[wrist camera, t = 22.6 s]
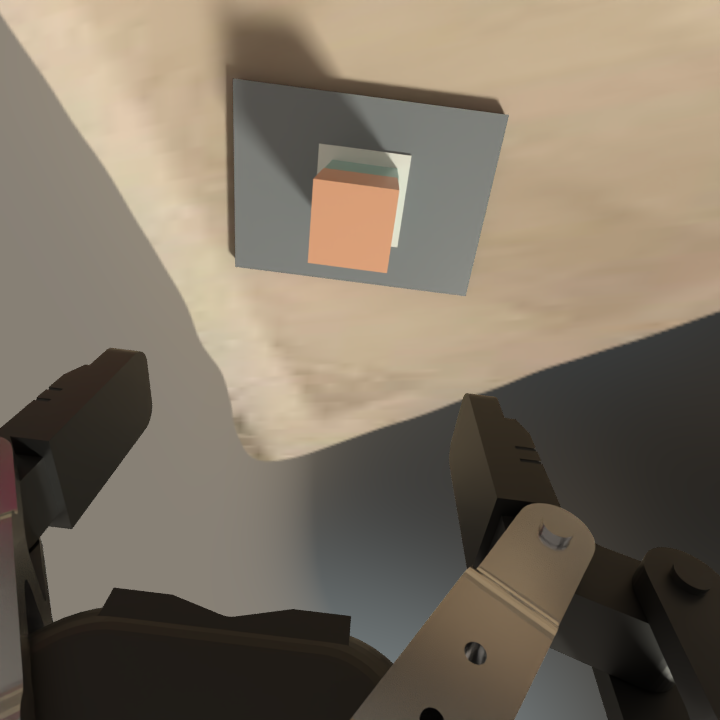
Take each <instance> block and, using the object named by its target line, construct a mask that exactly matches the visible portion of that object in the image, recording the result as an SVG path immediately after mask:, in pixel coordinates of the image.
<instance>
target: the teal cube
mask: <svg viewBox="0 0 720 720" xmlns="http://www.w3.org/2000/svg"><path fill="white" fill-rule="evenodd" d="M325 168H328V169H336V170H343V171H351V172H358V173H366V174H373V175H381V176H388V177H396V178H398V180H399V176H398V169H397V168H390V167H383V166H375V165H368V164H360V163H353V162H346V161H338V160H332V161H331V162H330V163H329V164H328V165H327V166H326V167H325Z"/></svg>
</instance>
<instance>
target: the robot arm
mask: <svg viewBox="0 0 720 720" xmlns="http://www.w3.org/2000/svg"><path fill="white" fill-rule="evenodd" d="M151 413H152V398H151V390H150V382H149V373H148V365H147V359H146V356H145V354H144V353H143V352H140V351H132V350H124V349H116V348H109V349H107V350H106V351H105V352H104V353H103V354H102V355H100V356H99V357H98V358H97V359H96V360H95V361H94V362H93V363H92V364H90V365H83V366H81V367H79V368H77V369H75V370H72V371H70V372H68V373H66V374H64V375H63V376H61V377H60V378H59V379H58V380H57V381H56V382H54V383H53V384H52V385H51V386H50V387H49V390H45V391H44V392H43V393H41V394H40V395H39V396H38V397H37V399H36V400H33V401H32V402H31V403H29V404H28V405H27V406H26V407H25V408H24V409H22V410H21V411H20V412H19V413H18V414H17V415H15V416H14V417H13V418H12V419H11V420H9V421H8V422H7V423H6V424H5V425H3V426H2V427H1V428H0V720H514V719H515V717H516V715H517V713H518V711H519V709H520V707H521V705H522V703H523V700H524V699H525V697H526V694H527V692H528V690H529V688H530V686H531V684H532V682H533V680H534V678H535V676H536V674H537V672H538V670H539V668H540V665H541V664H542V662H543V659H544V657H545V655H546V653H547V651H548V649H549V648H552V649H554V650H556V651H558V652H561V653H563V654H565V655H567V656H570V657H572V658H574V659H576V660H579V661H581V662H583V663H585V664H588V665H590V666H592V669H593V672H594V675H595V679H596V682H597V685H598V688H599V692H600V695H601V698H602V702H603V705H604V708H605V711H606V714H607V718H608V720H720V576H719V575H718V574H717V573H716V572H715V571H714V570H713V569H711V568H710V567H709V566H707V565H706V564H705V563H703V562H702V561H700V560H699V559H697V558H695V557H693V556H692V555H689V554H687V553H685V552H683V551H679V550H677V549H672V548H666V547H657V548H653V549H651V550H649V551H648V552H647V554H646V555H645V556H644V558H643V560H642V561H638V560H636V559H633V558H631V557H628V556H625V555H623V554H620V553H617V552H615V551H612V550H609V549H607V548H604V547H601V546H600V545H597V544H596V543H595V542H594V538H593V536H592V534H591V532H590V531H589V529H588V528H587V527H586V525H585V524H584V523H583V522H582V521H581V520H580V519H578V518H577V517H576V516H574V515H573V514H571V513H570V512H568V511H566V510H564V509H562V508H561V507H560V504H559V502H558V499H557V497H556V495H555V492H554V490H553V488H552V485H551V483H550V481H549V478H548V476H547V474H546V471H545V469H544V467H543V464H541V460H540V457H539V455H538V453H537V452H536V448H535V445H534V443H533V441H532V438H531V436H530V434H529V433H528V432H527V431H526V430H525V429H524V428H523V427H522V425H520V423H519V422H517V420H516V419H508V418H504V415H503V412H502V410H501V407H500V404H499V402H498V399H497V398H496V397H492V396H484V395H476V394H468V393H466V394H465V395H464V397H463V400H462V403H461V407H460V411H459V414H458V418H457V422H456V426H455V429H454V433H453V437H452V441H451V445H450V453H449V464H450V465H449V466H450V472H451V478H452V484H453V489H454V496H455V501H456V507H457V513H458V519H459V525H460V530H461V537H462V543H463V549H464V554H465V560H466V566H467V570H466V571H465V572H464V574H463V575H462V576H461V577H460V579H459V580H458V581H457V582H456V584H455V585H454V586H453V588H452V589H451V590H450V592H449V593H448V594H447V595H446V597H445V598H444V599H443V601H442V602H441V603H440V605H439V606H438V607H437V608H436V610H435V611H434V612H433V613H432V615H431V616H430V617H429V619H428V620H427V621H426V622H425V624H424V625H423V626H422V628H421V629H420V630H419V631H418V633H417V634H416V635H415V637H414V638H413V639H412V641H411V642H410V643H409V644H408V646H407V647H406V648H405V650H404V651H403V652H402V653H401V655H400V656H399V657H398V659H397V660H396V661H395V662H394V664H393V663H392V662H391V661H390V660H389V659H388V658H386V657H385V656H384V655H383V654H381V653H380V652H379V651H377V650H376V649H374V648H373V647H371V646H370V645H368V644H366V643H364V642H363V641H361V640H359V639H356V638H354V637H352V636H350V621H351V616H345V615H337V614H329V613H320V612H312V611H303V610H295V609H291V610H283V611H275V612H267V613H260V614H252V615H244V616H236V617H227V616H223V615H220V614H218V613H216V612H213V611H211V610H208V609H206V608H203V607H201V606H198V605H196V604H194V603H191V602H189V601H186V600H184V599H181V598H179V597H177V596H174V595H170V594H161V593H154V592H145V591H137V590H129V589H120V588H113V590H112V592H111V594H110V596H109V597H108V599H107V601H106V603H105V604H104V606H103V608H97V609H92V610H88V611H84V612H80V613H77V614H74V615H71V616H68V617H65V618H62V619H60V620H58V621H55V622H53V618H52V613H51V605H50V597H49V589H48V582H47V574H46V566H45V558H44V551H43V545H42V541H41V538H40V536H41V535H42V534H43V533H44V531H45V530H46V529H47V528H48V526H51V527H59V528H68V529H72V528H73V527H74V525H75V524H76V523H77V521H78V520H79V519H80V517H81V516H82V515H83V513H84V512H85V511H86V509H87V508H88V506H89V505H90V504H91V502H92V501H93V500H94V498H95V497H96V496H97V494H98V493H99V492H100V490H101V489H102V487H103V486H104V485H105V483H106V482H107V481H108V479H109V478H110V477H111V475H112V474H113V472H114V471H115V470H116V468H117V467H118V466H119V464H120V463H121V462H122V460H123V459H124V458H125V456H126V455H127V454H128V452H129V451H130V449H131V448H132V447H133V445H134V444H135V443H136V441H137V440H138V438H139V437H140V436H141V435H142V433H143V432H144V430H145V429H146V428H147V426H148V424H149V421H150V417H151Z"/></svg>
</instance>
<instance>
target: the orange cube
mask: <svg viewBox="0 0 720 720" xmlns="http://www.w3.org/2000/svg"><path fill="white" fill-rule="evenodd" d="M399 191H400V190H399V183H398V178H396V177H388V176H381V175H373V174H366V173H358V172H351V171H343V170H336V169H328V168H323V169H322V170H321V171H320V172H319V173H318V174H317V175H316V176H315V178H314V179H313V192H312V207H311V222H310V237H309V252H308V263H313V264H321V265H328V266H336V267H343V268H351V269H359V270H366V271H374V272H381V273H387V269H388V263H389V256H390V250H391V243H392V236H393V230H394V223H395V217H396V210H397V204H398V197H399Z"/></svg>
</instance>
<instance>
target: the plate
mask: <svg viewBox="0 0 720 720" xmlns="http://www.w3.org/2000/svg"><path fill="white" fill-rule="evenodd" d="M508 117H509V115H505V114H498V113H490V112H483V111H475V110H467V109H460V108H452V107H445V106H437V105H430V104H422V103H415V102H407V101H400V100H392V99H384V98H377V97H369V96H362V95H354V94H347V93H339V92H332V91H324V90H317V89H309V88H301V87H294V86H286V85H279V84H271V83H264V82H256V81H249V80H241V79H233V126H234V199H235V267H242V268H249V269H257V270H265V271H273V272H281V273H289V274H296V275H304V276H312V277H320V278H328V279H335V280H343V281H351V282H359V283H367V284H375V285H382V286H390V287H398V288H406V289H414V290H421V291H429V292H437V293H445V294H453V295H460V296H466V292H467V288H468V284H469V279H470V275H471V271H472V267H473V263H474V259H475V254H476V250H477V246H478V242H479V238H480V233H481V229H482V225H483V221H484V217H485V213H486V208H487V204H488V200H489V196H490V192H491V188H492V183H493V179H494V175H495V171H496V167H497V162H498V158H499V154H500V150H501V146H502V142H503V137H504V133H505V129H506V125H507V121H508ZM332 160H338V161H346V162H353V163H360V164H368V165H375V166H383V167H390V168H397V169H398V176H399V180H398V183H399V190H400V191H399V197H398V204H397V210H396V217H395V223H394V230H393V236H392V243H391V250H390V256H389V263H388V269H387V273H381V272H374V271H366V270H359V269H351V268H343V267H336V266H328V265H321V264H313V263H308V252H309V237H310V222H311V207H312V192H313V179H314V178H315V176H316V175H317V174H318V173H319V172H320V171H321V170H322V169H323V168H325V167H326V166H327V165H328V164H329V163H330V162H331V161H332Z"/></svg>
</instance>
